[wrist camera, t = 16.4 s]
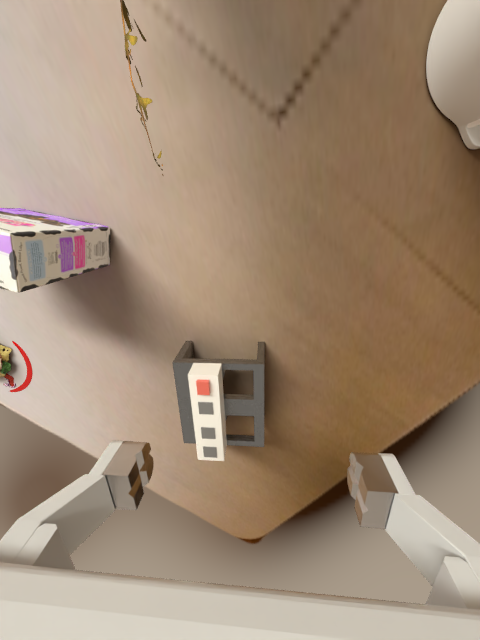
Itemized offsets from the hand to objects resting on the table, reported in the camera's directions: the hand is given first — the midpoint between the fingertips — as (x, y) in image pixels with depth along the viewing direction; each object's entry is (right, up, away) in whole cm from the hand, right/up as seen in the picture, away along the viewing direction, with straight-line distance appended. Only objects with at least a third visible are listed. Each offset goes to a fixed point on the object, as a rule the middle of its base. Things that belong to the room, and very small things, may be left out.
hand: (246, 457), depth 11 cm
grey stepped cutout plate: (-3, -5, +36) cm, 36 cm away
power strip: (-4, -6, +33) cm, 34 cm away
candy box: (-26, +18, +29) cm, 43 cm away
